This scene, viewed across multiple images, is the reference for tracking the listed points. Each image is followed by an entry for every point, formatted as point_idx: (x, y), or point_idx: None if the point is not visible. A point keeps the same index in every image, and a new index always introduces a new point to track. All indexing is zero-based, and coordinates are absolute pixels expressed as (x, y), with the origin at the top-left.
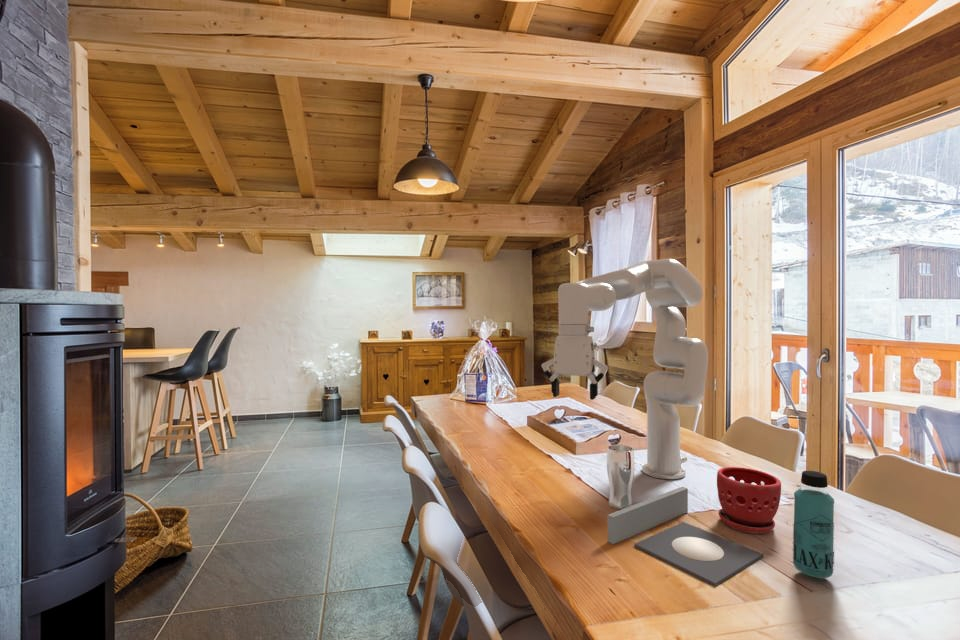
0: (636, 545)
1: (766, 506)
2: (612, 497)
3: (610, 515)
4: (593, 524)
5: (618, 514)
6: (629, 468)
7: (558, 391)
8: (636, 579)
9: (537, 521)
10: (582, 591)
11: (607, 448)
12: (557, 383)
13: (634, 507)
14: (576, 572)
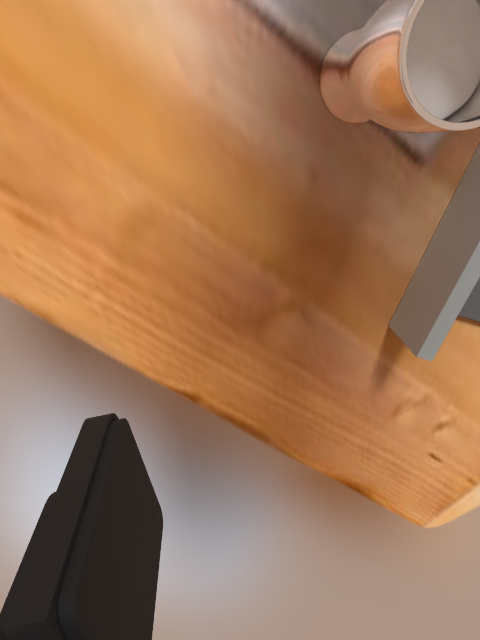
0: None
1: None
2: (350, 113)
3: (424, 356)
4: (330, 267)
5: (442, 340)
6: (476, 95)
7: (128, 481)
8: (466, 410)
9: (202, 338)
10: (394, 481)
11: (402, 90)
12: (118, 637)
13: (475, 272)
14: (368, 449)
